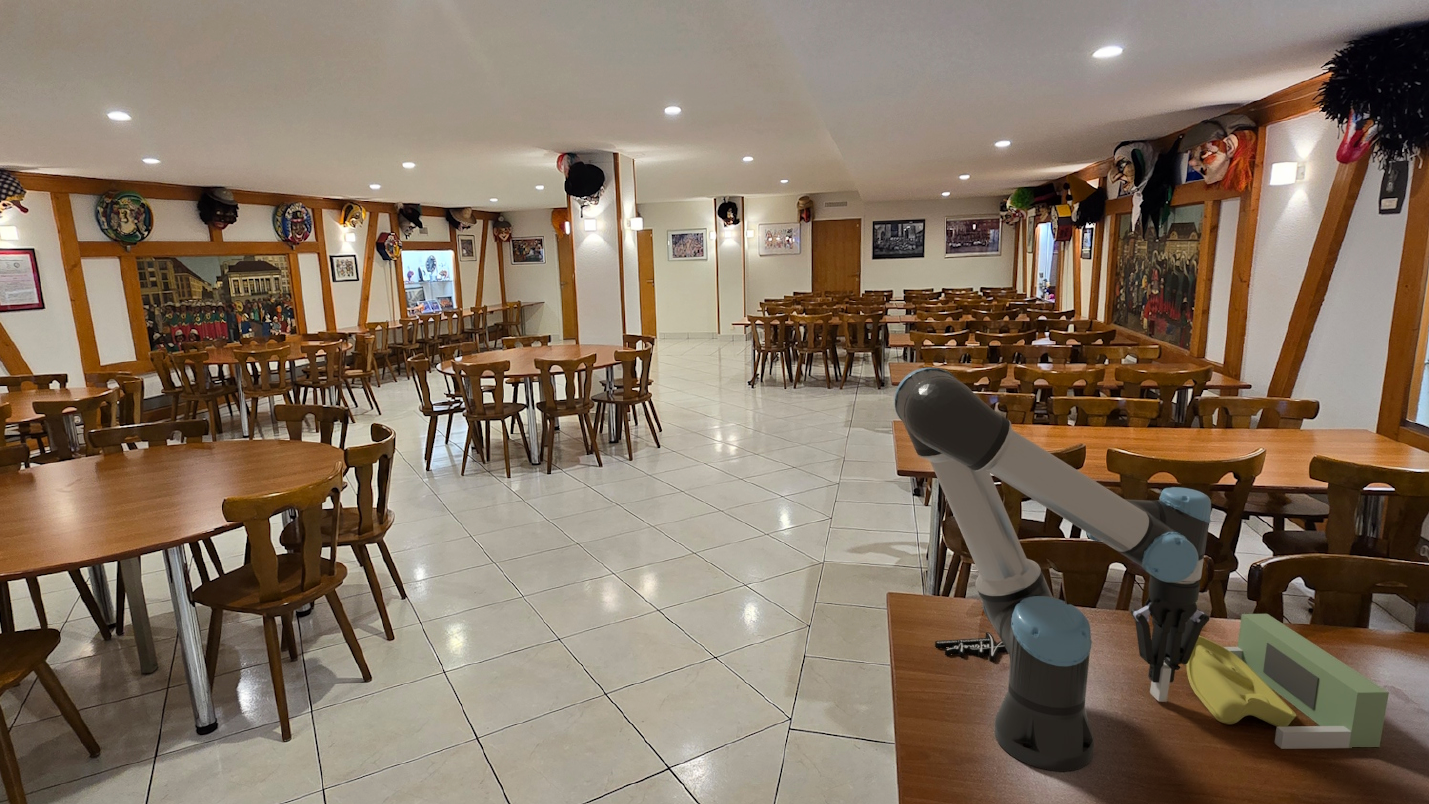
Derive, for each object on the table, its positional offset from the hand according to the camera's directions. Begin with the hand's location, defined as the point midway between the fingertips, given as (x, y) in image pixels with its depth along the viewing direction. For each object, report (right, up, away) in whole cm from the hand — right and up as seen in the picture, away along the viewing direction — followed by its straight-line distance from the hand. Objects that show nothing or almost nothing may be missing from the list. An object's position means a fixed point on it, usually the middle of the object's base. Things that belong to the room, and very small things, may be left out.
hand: (1158, 697), depth 135 cm
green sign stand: (+20, -1, 0) cm, 20 cm away
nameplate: (-21, +2, +19) cm, 28 cm away
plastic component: (+14, -1, +1) cm, 14 cm away
